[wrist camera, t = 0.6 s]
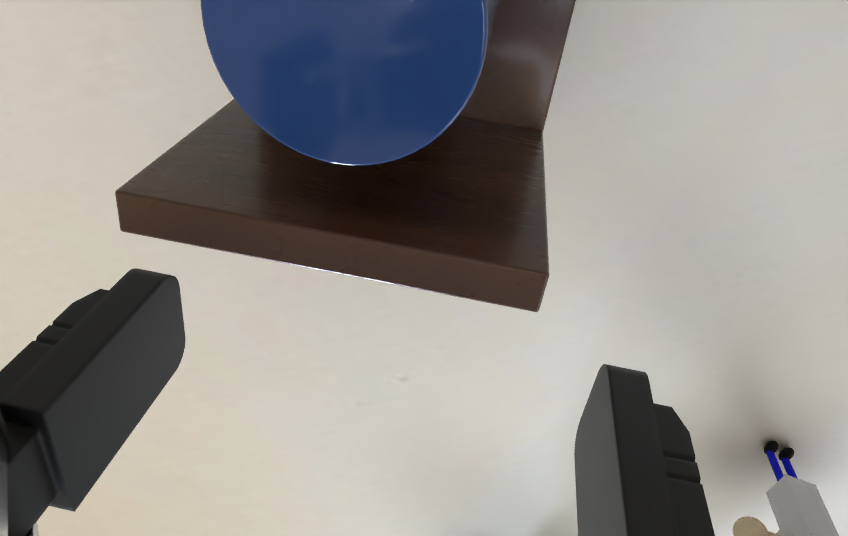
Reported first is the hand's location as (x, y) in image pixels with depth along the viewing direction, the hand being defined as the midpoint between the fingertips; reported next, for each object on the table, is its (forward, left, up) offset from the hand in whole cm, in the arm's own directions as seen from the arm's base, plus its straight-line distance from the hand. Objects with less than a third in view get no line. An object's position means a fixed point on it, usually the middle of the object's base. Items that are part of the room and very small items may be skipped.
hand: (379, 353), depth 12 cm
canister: (-5, -2, -14) cm, 15 cm away
